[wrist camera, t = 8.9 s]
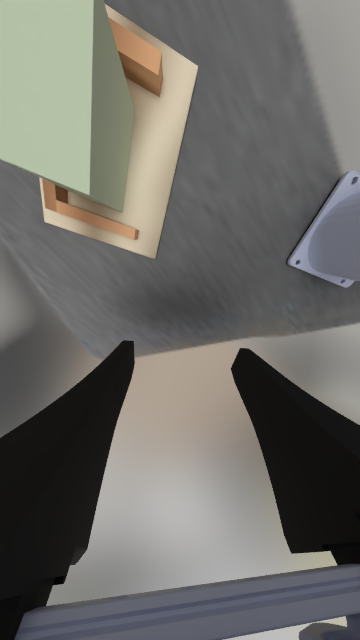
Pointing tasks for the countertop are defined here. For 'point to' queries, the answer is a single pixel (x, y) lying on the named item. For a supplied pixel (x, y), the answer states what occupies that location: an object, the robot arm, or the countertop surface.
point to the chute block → (65, 97)
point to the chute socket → (136, 146)
